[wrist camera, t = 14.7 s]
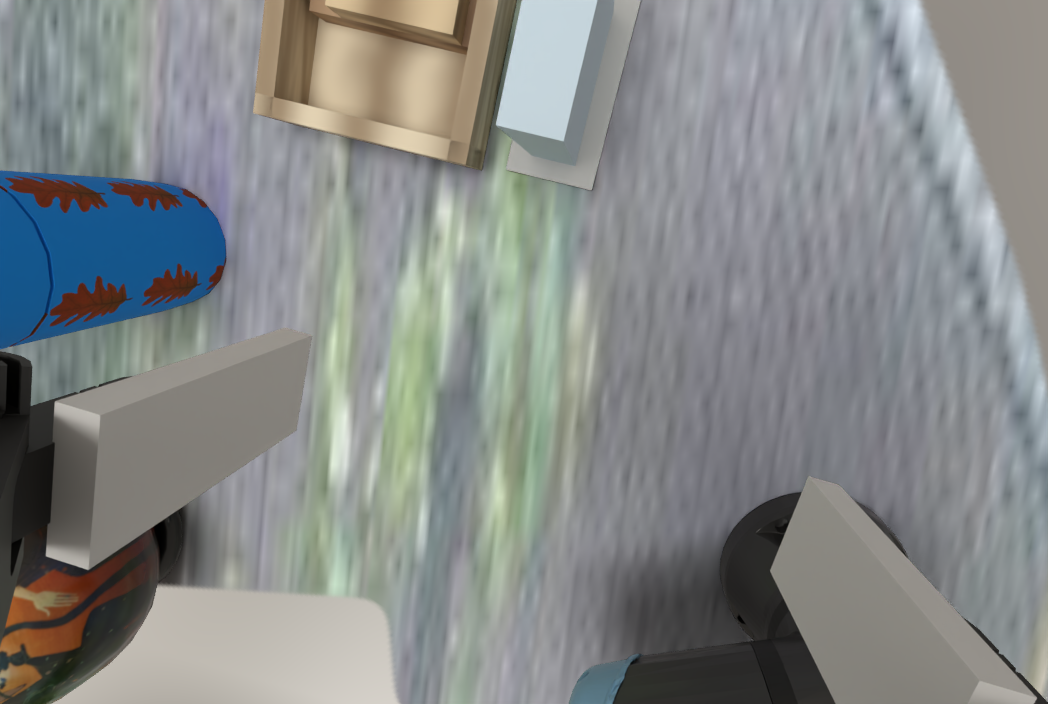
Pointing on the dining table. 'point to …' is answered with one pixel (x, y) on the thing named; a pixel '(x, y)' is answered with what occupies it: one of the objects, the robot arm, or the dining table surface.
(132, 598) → the amphora vase
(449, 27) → the offcut
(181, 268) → the thermos
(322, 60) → the box
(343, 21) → the offcut
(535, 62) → the pale blue block
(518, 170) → the mat
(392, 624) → the dining table surface
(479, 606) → the dining table surface
